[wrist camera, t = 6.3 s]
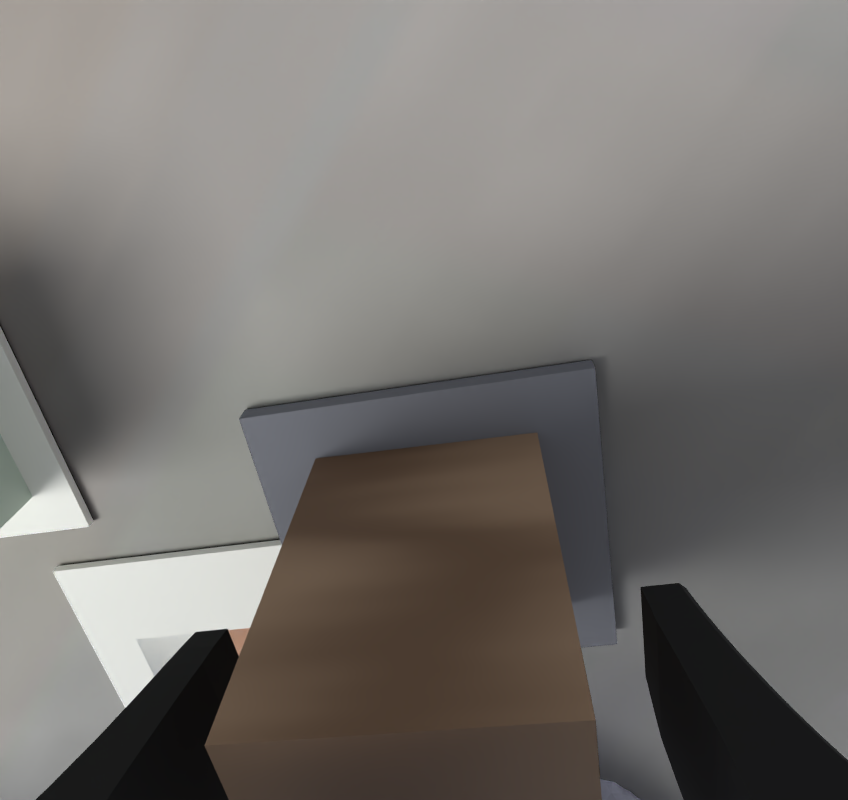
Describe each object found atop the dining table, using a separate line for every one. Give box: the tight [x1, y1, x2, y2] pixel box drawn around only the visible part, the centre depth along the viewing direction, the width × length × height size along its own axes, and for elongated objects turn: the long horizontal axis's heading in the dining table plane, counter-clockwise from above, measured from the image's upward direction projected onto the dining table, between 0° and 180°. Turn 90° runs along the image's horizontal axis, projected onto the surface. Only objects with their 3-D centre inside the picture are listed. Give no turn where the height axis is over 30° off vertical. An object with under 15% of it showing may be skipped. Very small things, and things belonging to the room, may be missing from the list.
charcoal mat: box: [239, 360, 617, 647], centre depth 15 cm, size 7×7×1 cm
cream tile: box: [53, 540, 282, 708], centre depth 17 cm, size 6×6×1 cm
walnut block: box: [204, 433, 602, 800], centre depth 11 cm, size 4×4×6 cm
